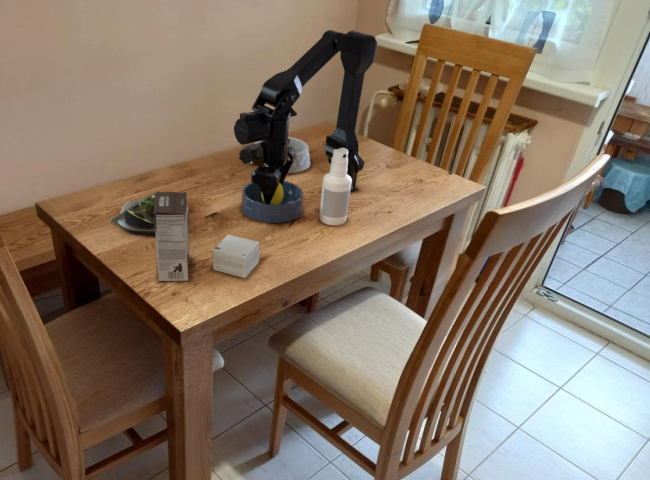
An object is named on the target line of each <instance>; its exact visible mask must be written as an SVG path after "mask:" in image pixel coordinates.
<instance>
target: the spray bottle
mask: <svg viewBox="0 0 650 480" xmlns="http://www.w3.org/2000/svg"><path fill="white" fill-rule="evenodd" d="M347 166H348V150H347V149H345V148H340V149H334V151H333V157H332V160H331V164H330V167H329V172H327V173H326V174H324V175H323V177H322V185H321V195H320V204H319V213H318V218H319V221H320V222H321V223H323V224H324V225H325V224H326V225H328V226H340V225H341V226H342V225H343V224H345V223H346V222H347V220H348V219H347V218H348V210H349V203H350V197H351V192H350V190H351V183H352V179H351V177H350V176H349V175H347Z"/></svg>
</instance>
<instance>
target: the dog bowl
mask: <svg viewBox="0 0 650 480" xmlns="http://www.w3.org/2000/svg"><path fill="white" fill-rule="evenodd" d="M288 139H290V143H289V144H288V145H287V147H293V148H294V150H295V151H296V156H295V159H294V162H293V164H292V166H291V168H290V170H289V172H288V174H287V175H289V174H296V173H300V172H304V171H306V170H308V169H309V168H310V167H311V159H310V157H311V156H310V149H309V145H308V144H307V142H305V141H304V140H301V139H299V138H296V137H293V136H288ZM262 141H263V140H262ZM262 141H258V142H254V143H253V144H255V143H261V142H262ZM288 160H290V157H289V159H288ZM249 163H250V164H251V165H253V163H254V162H249ZM263 166H266V167H268V165H266V164H265V163H264V164H263Z"/></svg>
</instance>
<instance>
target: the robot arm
mask: <svg viewBox="0 0 650 480" xmlns="http://www.w3.org/2000/svg"><path fill="white" fill-rule="evenodd" d="M377 50H378V40H377V39H376V37H375V36H374V35H372V34H368V33H365V32H360V31H356V30H349V31H348V32H347V33H345V32H341V31H336V30H332V29H329V30H326V31H324V32H323V34H322V35H321V37H320V38H319V40H317V41H316V42H315V43H314V44H313V45H312V46H311V47H310V48H309V49H308V50H307V51H306V52H305V53H304V54H303V55H301V57H300V58H299V59H298V60H297V61H295V63H293V64H292V66H290V67H289V68H287V69H286V70H283V71H281V72H277V73H276V74H274V75H272V76H271V77H269V78H268V79H267V80H266V81H264V82H263V84H262V86H261V90H260V92H259V94H258V96H257V97H256V99H255V101H254V103H253V104H252V106H251V110H252V111H250V112H240V113H239V118H238V119H237V120H236V121H235V124H234V125H233V133H234V137H235V139H236V141H237V142H238V144H240V145H241V146H243V147H242V148H241V149H240V150H239V153H238V155H239V156H238V160H239V161H241V162H242V164H243V165H247V164H248V163H250V162H253V163H254V162H258V164H262V165H258V166H257V167H255V169H254V170H253V171H252V173H251V174H250V183H251V182H253V183H255V184H258V185H259V186H260V188H261V191H262V194H263V198H264V202H265V204H270V203H271V201H272V198H273V196H274V194H275V192H276V190H277V187H278V185H279V183H280V184H281V185H282V184H283V182H284V181H286V178H287V176H288V175H289V174H288V172H289V170H290V168H291V166H292V164H293V162H294V159H295V156H296V151H295V150H294V148H293V147H287V145H288V144H289V143H290V139H288V137H289V128H290V118H293V117H296V116H298V112H296V110H295V109H293V106H294V104H295V103H296V102H297V101H298V99H299V98H300V97H301V95H302V92H303V87H304V86H305V85H306V84H307V83H308V82H309V81H310V80H311V79H312V78H313V77H315V75H316V74H318V73H319V72H320V71H321V70H322V69H323V68H324V67H325V65H326V64H327V63H329V61H331V60H332V59H333V58H334V57H335V56H336V55H337V54H338V53H339V52H340V57H339V58H340V61H341V64H342V67H343V71H344V72H343V73H344V74H343V79H342V85H341V92H340V99H339V100H340V101H339V105H338V113H337V117H336V118H337V119H336V126H335V129H334V130H333V132H332V133H331V134H327V135H326V137H325V146H324V148H323V150H324V151H325V156H326V157H327V162H328V164H330V165H331V160H332V157H333V151H334V149H340V148H345V149H347V150H348V166H347V175H349V176H350V177H351V179H352V183H351V190H350V193H352V192H357V191H359V188H358V187H357V186H356V183H357V177H358V174H359V173H360V171H362V170H363V169H364V166H365V161H364V159H363V158H362V157H361V155H360V154H359V148H360V146H359V145H360V144H359V139H358V137H357V136H358V135H357V134H356V128H357V121H358V116H359V108H360V104H361V99H362V98H361V97H362V92H363V85H364V81H365V79H364V78H365V75H366V72H367V71H369V69H370V67H371V66H372V65H373V63H374V61H375V57H376V53H377ZM267 105H268V106H267ZM269 106H271V107H269ZM272 107H273V108H274V109H273V108H272ZM262 140H263V141H262ZM258 141H262V142H261V143H255V142H258ZM254 143H255V144H254ZM289 157H290V160H288V159H289ZM264 163H265V164H266V165H268V167H266V165H264Z"/></svg>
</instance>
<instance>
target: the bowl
mask: <svg viewBox="0 0 650 480" xmlns="http://www.w3.org/2000/svg"><path fill="white" fill-rule="evenodd" d="M282 187H283V192H284V197H283V201H282V202H281V204H280V205H270V204H264V203H263V201H262V191H261V188H260V186H259V185H258V184H255V183H253V182H251V181H250V182H249V183H247V184H246V185H244V186H243V188H242V190H241V211H242V212H243V214H244V215H245V216H246V217H248V218H250V219H251V220H253V221H254V220H255V221H258V222H261V223H267V224H268V223H269V224H280V223H288V222H291V221H294V220H296V219H297V218H298V217H300V216H301V215H302V212H303V204H304V203H303V202H304V191H303V189H302V188H301V187H299V185H297V184H295V183H293V182H290V181H286V180H284V182H283V184H282Z"/></svg>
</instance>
